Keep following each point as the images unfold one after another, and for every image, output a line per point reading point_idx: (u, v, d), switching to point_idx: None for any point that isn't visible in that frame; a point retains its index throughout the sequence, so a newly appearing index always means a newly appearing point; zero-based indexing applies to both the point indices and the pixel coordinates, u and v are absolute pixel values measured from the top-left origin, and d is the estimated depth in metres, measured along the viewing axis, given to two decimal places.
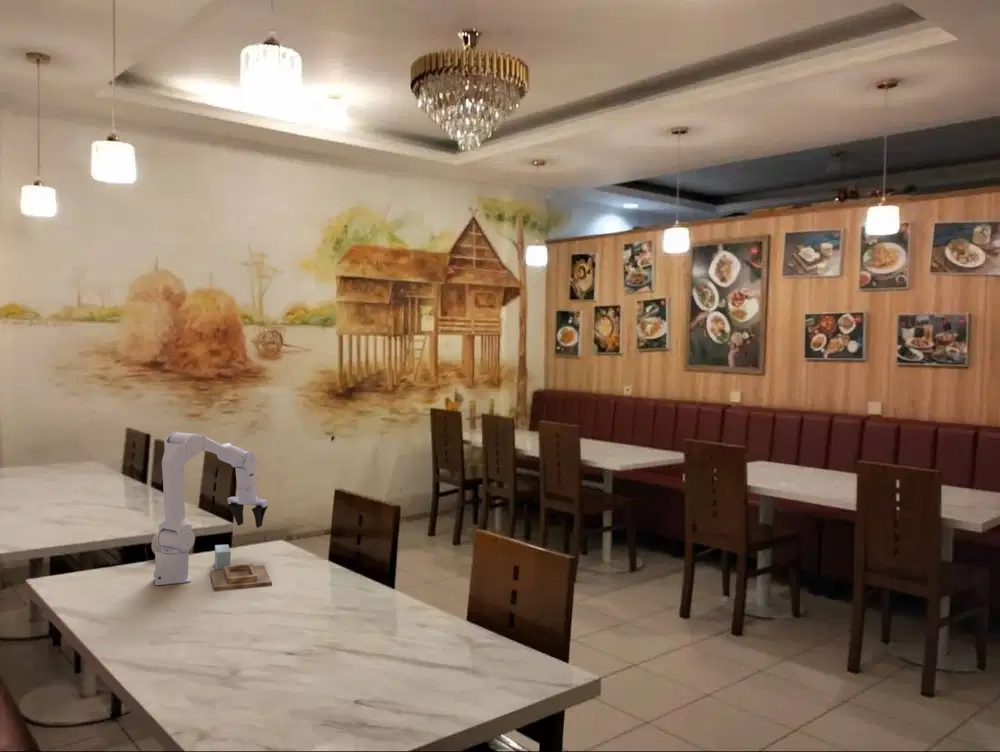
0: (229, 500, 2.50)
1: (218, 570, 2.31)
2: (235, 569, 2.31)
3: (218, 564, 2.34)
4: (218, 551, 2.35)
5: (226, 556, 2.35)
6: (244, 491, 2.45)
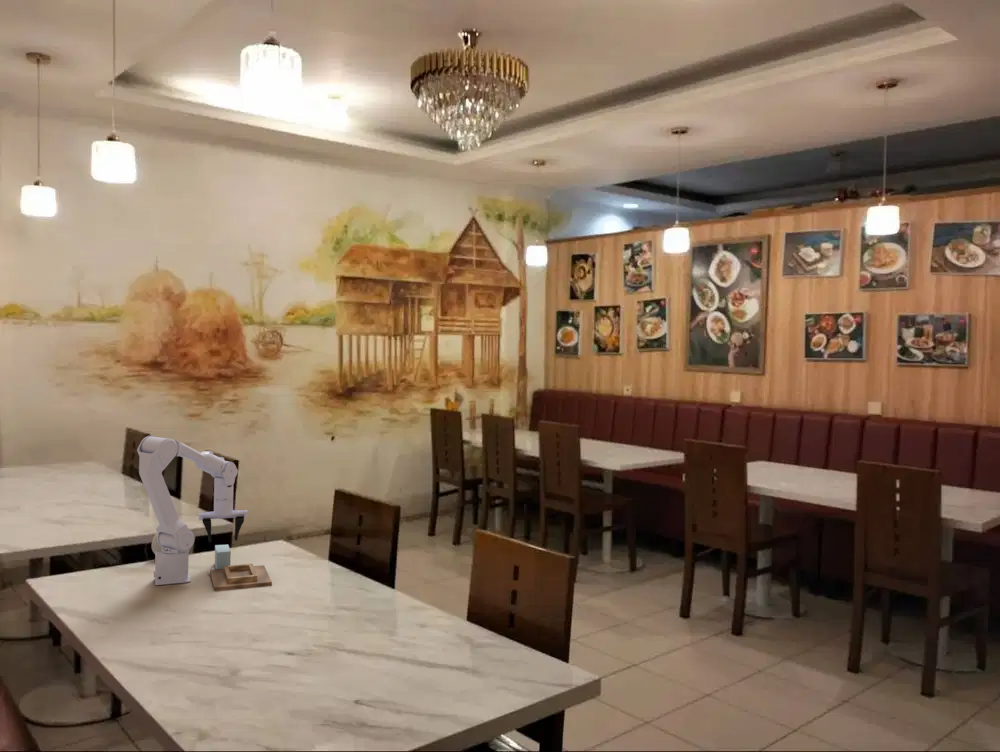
0: (201, 516, 2.34)
1: (218, 570, 2.31)
2: (235, 569, 2.31)
3: (218, 564, 2.34)
4: (218, 551, 2.35)
5: (226, 556, 2.35)
6: (228, 502, 2.36)
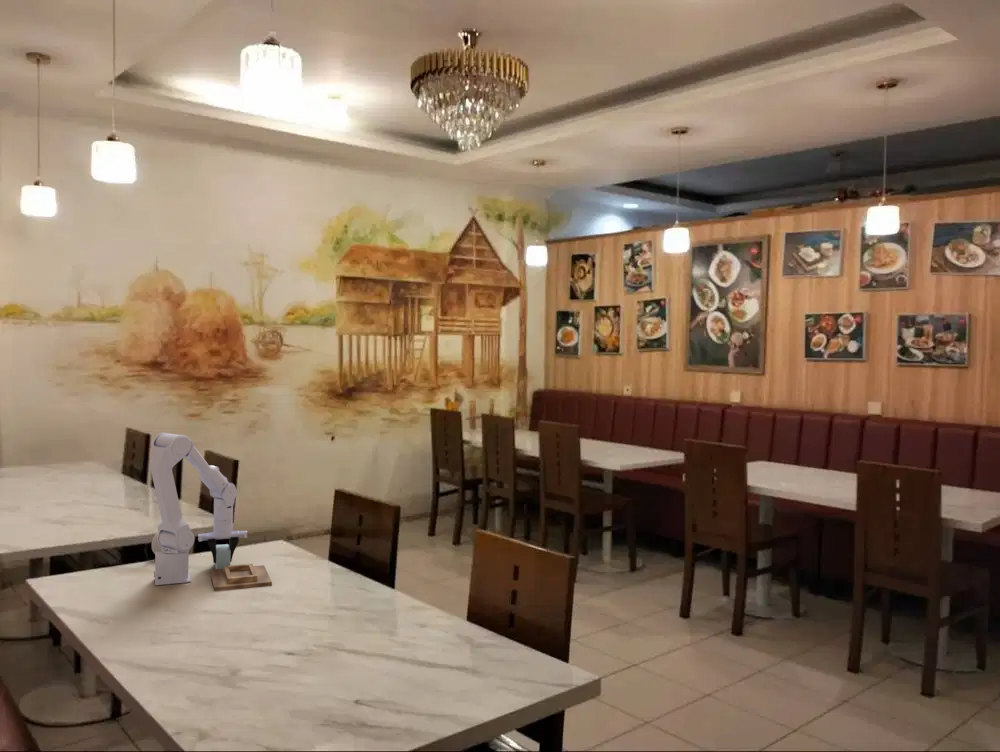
0: (201, 537, 2.34)
1: (218, 570, 2.31)
2: (235, 569, 2.31)
3: (218, 564, 2.34)
4: (218, 551, 2.35)
5: (226, 555, 2.35)
6: (227, 523, 2.36)
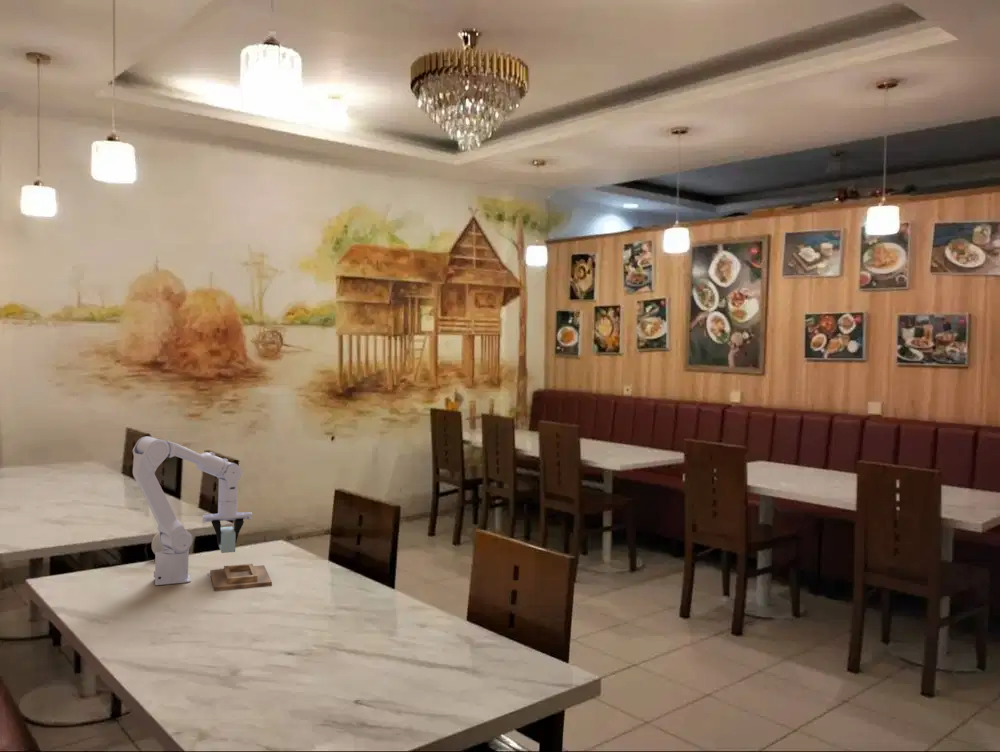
0: (205, 518, 2.31)
1: (218, 570, 2.31)
2: (235, 569, 2.31)
3: (223, 545, 2.31)
4: (223, 532, 2.32)
5: (231, 537, 2.31)
6: (232, 504, 2.33)
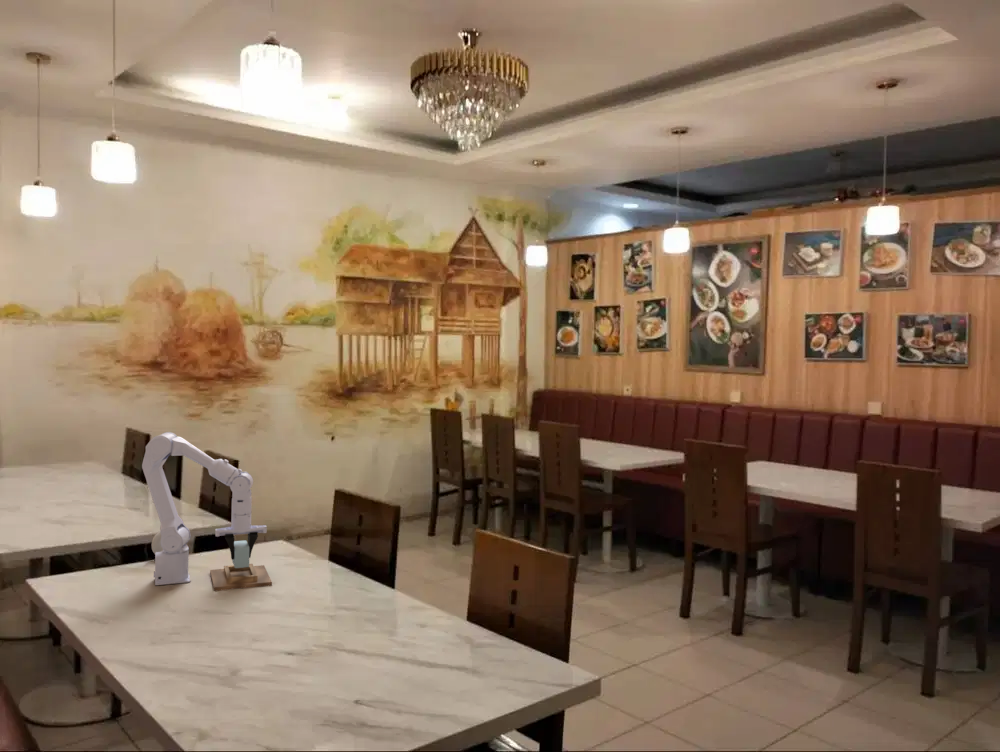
0: (218, 532, 2.22)
1: (218, 570, 2.31)
2: (235, 569, 2.31)
3: (236, 560, 2.22)
4: (236, 547, 2.23)
5: (245, 552, 2.23)
6: (246, 517, 2.24)
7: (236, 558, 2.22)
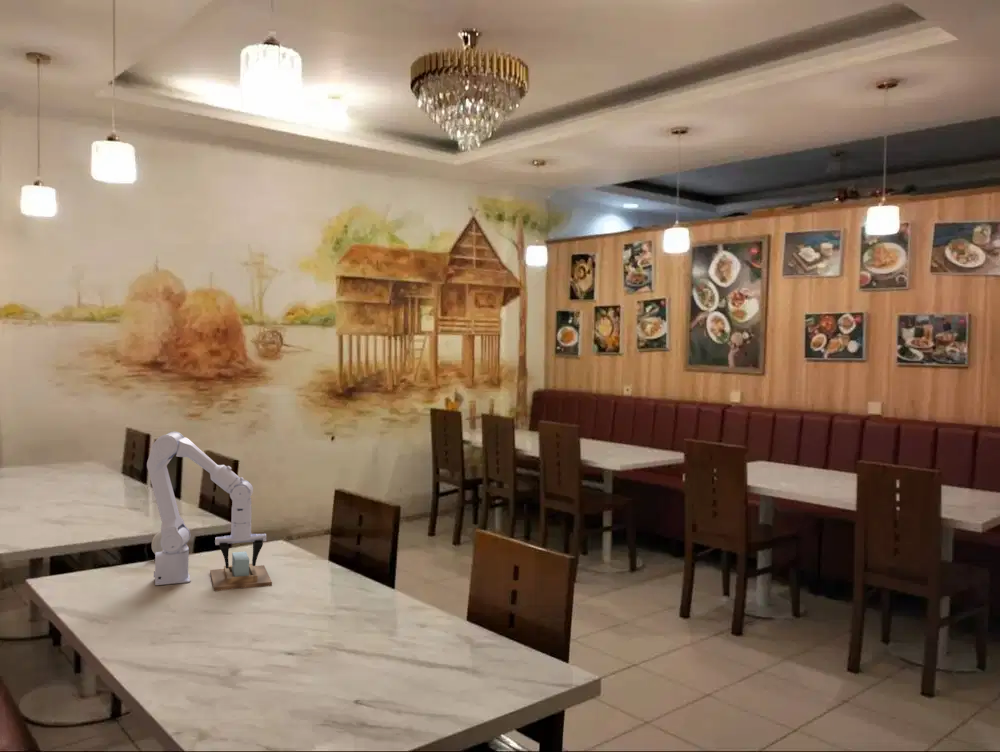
0: (218, 540, 2.22)
1: (218, 570, 2.31)
2: None
3: (236, 572, 2.22)
4: (236, 559, 2.23)
5: (244, 564, 2.23)
6: (246, 526, 2.24)
7: (236, 570, 2.22)
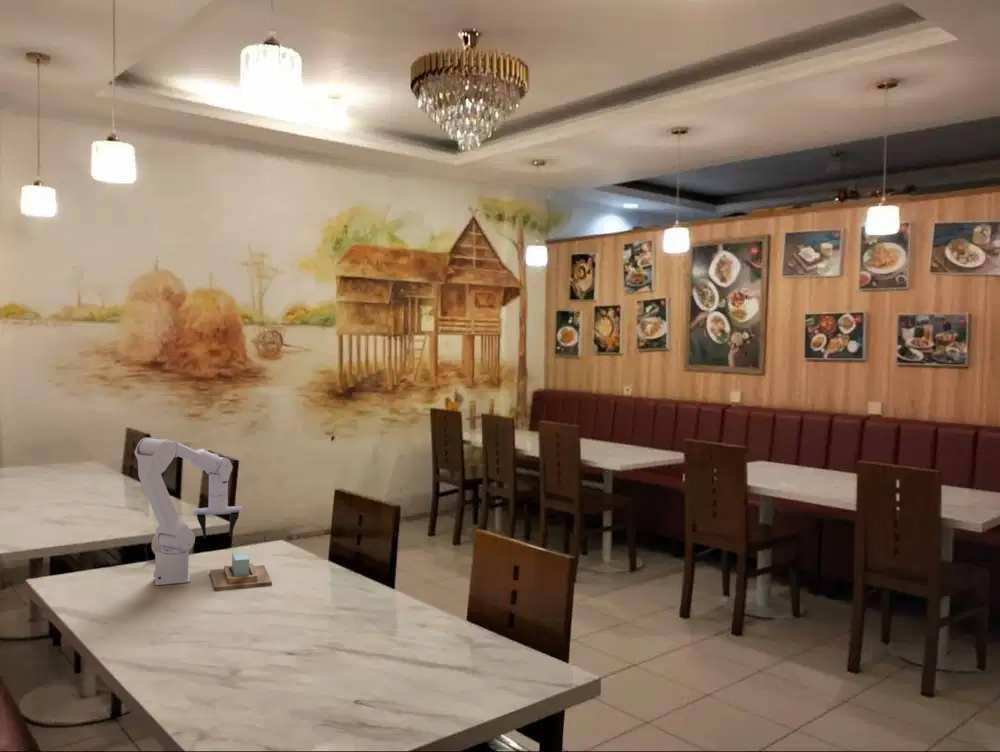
0: (196, 512, 2.34)
1: (218, 570, 2.31)
2: None
3: (236, 572, 2.22)
4: (236, 559, 2.23)
5: (244, 564, 2.23)
6: (222, 498, 2.36)
7: (236, 570, 2.22)
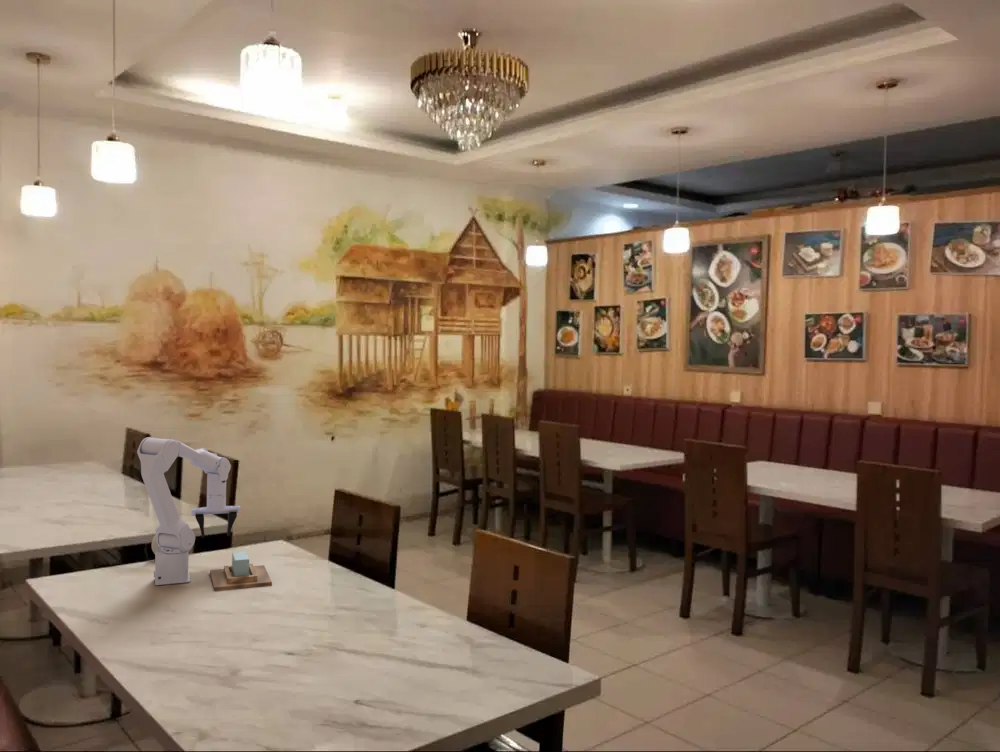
0: (194, 511, 2.35)
1: (218, 570, 2.31)
2: None
3: (236, 572, 2.22)
4: (236, 559, 2.23)
5: (244, 564, 2.23)
6: (221, 498, 2.37)
7: (236, 570, 2.22)
